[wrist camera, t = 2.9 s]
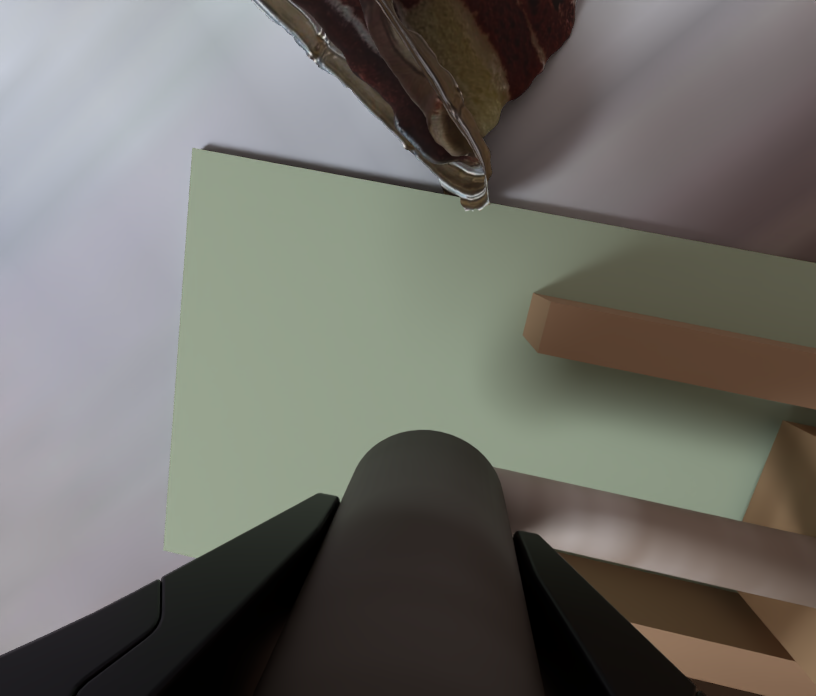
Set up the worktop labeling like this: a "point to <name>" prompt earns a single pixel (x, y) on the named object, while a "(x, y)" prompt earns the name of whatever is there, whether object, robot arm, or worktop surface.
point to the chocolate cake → (432, 68)
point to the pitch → (485, 370)
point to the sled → (516, 567)
